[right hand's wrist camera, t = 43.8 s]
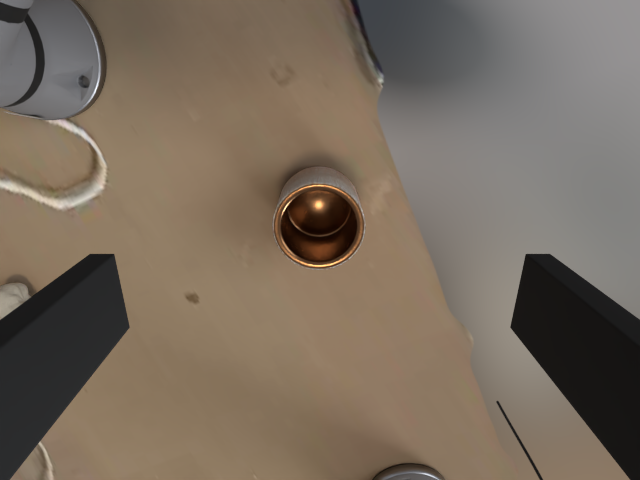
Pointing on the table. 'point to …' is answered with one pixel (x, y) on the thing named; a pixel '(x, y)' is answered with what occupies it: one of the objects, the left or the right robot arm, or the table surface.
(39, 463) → the table surface
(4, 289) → the dog toy
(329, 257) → the planter
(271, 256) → the table surface
